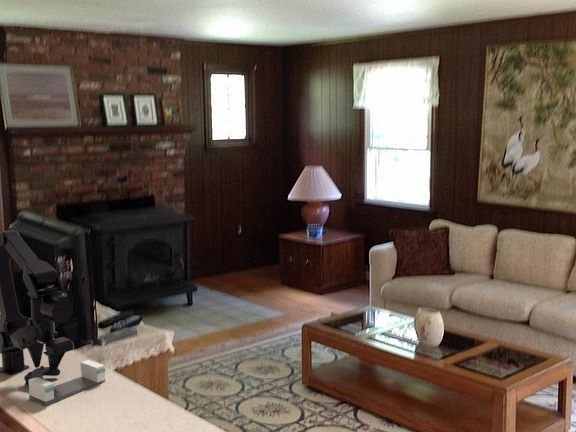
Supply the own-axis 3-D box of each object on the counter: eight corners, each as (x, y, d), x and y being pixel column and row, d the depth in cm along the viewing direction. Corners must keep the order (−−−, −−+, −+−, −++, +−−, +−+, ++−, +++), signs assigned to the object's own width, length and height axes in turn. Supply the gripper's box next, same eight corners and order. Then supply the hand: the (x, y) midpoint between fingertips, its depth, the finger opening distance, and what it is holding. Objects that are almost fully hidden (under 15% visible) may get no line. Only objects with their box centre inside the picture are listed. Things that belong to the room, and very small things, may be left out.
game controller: (44, 383, 181) (27, 368, 181) (33, 398, 182) (16, 383, 182) (63, 370, 190) (46, 356, 191) (52, 384, 191) (36, 370, 192)
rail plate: (29, 398, 176) (29, 395, 176) (89, 377, 190) (89, 373, 190) (45, 405, 172) (45, 401, 171) (105, 383, 186) (105, 379, 185)
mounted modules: (29, 395, 176) (28, 379, 175) (88, 373, 190) (88, 359, 189) (46, 402, 171) (45, 386, 171) (105, 379, 185) (105, 365, 185)
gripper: (-6, 314, 183) (-3, 370, 186) (35, 329, 172) (37, 389, 174) (33, 304, 192) (35, 359, 194) (74, 318, 181) (76, 376, 183)
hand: (44, 370), depth 186 cm, fingers open, 7 cm apart
